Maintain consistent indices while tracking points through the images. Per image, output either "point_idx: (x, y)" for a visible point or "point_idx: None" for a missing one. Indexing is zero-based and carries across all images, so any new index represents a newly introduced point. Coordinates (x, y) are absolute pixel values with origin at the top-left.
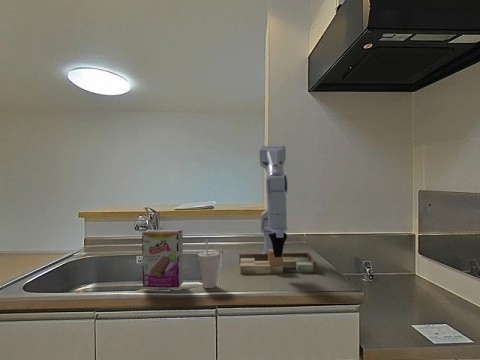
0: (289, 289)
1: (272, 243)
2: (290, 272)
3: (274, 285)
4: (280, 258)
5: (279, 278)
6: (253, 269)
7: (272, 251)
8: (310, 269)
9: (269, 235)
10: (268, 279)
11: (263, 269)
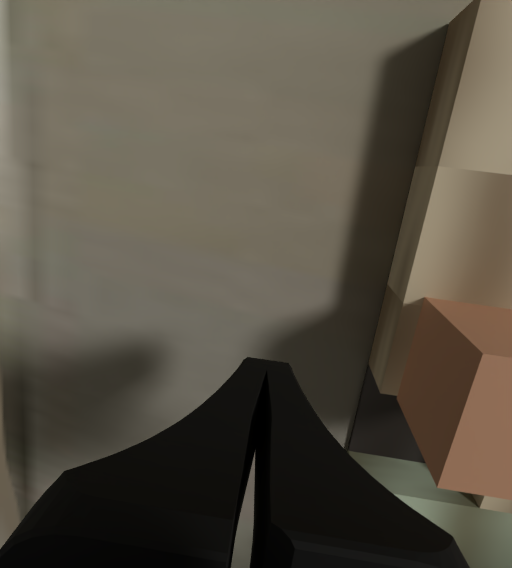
0: (46, 313)
1: (160, 434)
2: (357, 409)
3: (118, 247)
4: (417, 416)
5: (256, 312)
6: (430, 146)
7: (477, 391)
8: None
9: (47, 531)
10: (247, 236)
11: (409, 236)
